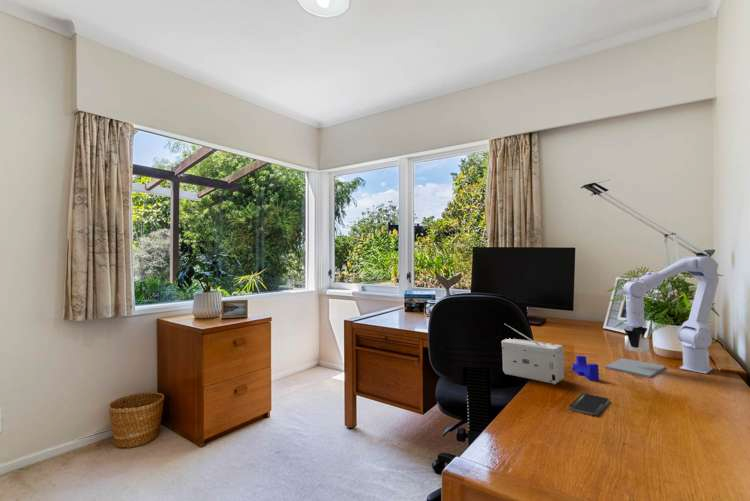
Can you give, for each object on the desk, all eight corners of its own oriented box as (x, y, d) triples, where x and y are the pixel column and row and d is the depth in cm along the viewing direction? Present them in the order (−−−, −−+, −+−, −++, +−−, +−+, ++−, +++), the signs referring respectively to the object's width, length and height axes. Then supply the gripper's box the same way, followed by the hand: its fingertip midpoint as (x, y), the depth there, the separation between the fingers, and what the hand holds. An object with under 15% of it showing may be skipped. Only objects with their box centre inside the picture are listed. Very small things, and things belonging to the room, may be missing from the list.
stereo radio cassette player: (565, 380, 131) (563, 325, 132) (558, 386, 125) (556, 329, 126) (509, 369, 146) (507, 320, 146) (500, 374, 140) (498, 323, 140)
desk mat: (622, 360, 153) (622, 358, 153) (665, 368, 141) (665, 366, 141) (604, 368, 144) (604, 366, 144) (649, 377, 131) (649, 375, 131)
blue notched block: (572, 370, 142) (572, 355, 142) (584, 370, 142) (584, 355, 142) (585, 381, 130) (584, 364, 131) (598, 381, 130) (598, 364, 130)
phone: (567, 407, 107) (582, 392, 118) (568, 411, 107) (582, 396, 117) (598, 414, 101) (610, 398, 112) (598, 418, 101) (611, 402, 112)
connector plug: (626, 347, 146) (626, 331, 146) (650, 351, 139) (650, 335, 139) (624, 348, 144) (623, 332, 144) (647, 352, 137) (647, 336, 137)
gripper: (630, 309, 149) (631, 341, 149) (616, 312, 141) (617, 347, 141) (650, 310, 144) (652, 344, 143) (637, 315, 135) (638, 351, 135)
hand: (636, 346), depth 142 cm, fingers closed on connector plug, 3 cm apart
